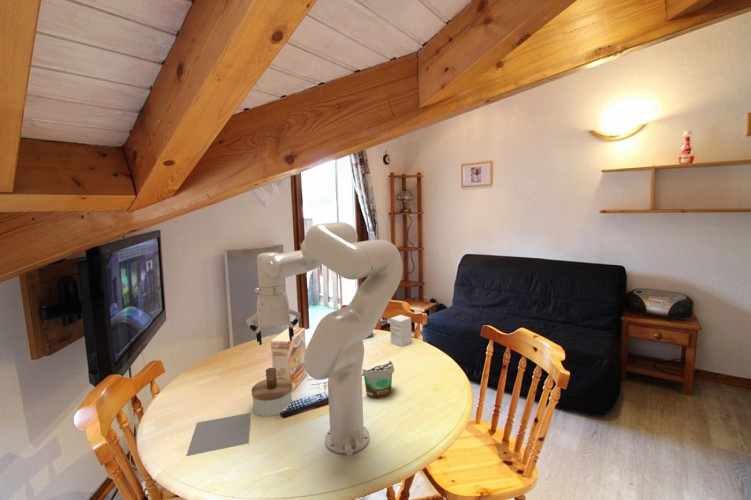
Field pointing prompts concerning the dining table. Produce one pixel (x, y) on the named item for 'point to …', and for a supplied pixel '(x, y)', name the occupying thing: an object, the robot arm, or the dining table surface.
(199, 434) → the mat
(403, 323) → the white mini drawer cabinet
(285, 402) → the bowl
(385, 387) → the food container
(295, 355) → the coffeecake box
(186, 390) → the dining table surface
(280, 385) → the lid
